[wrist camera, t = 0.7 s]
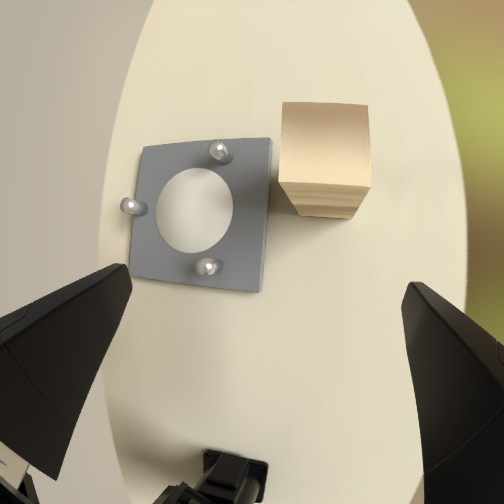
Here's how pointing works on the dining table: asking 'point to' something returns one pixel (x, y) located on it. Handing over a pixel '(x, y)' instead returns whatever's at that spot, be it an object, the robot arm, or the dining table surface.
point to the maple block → (325, 157)
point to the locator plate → (202, 213)
